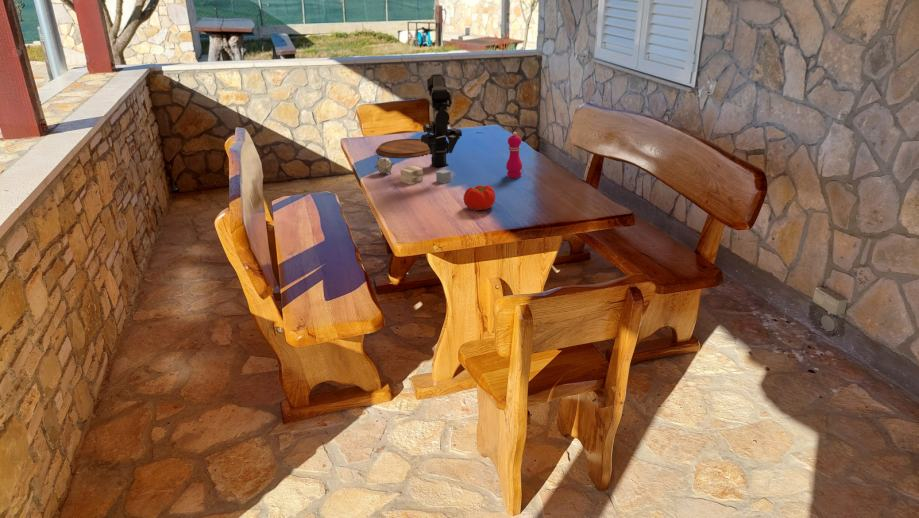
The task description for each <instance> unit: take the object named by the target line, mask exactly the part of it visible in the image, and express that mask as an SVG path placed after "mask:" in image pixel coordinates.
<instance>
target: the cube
mask: <svg viewBox="0 0 919 518" xmlns="http://www.w3.org/2000/svg"><path fill="white" fill-rule="evenodd" d="M451 174H452V173H451V171H450V170H447V169H440V170H438V171H435V176H436V178H435V181H436V182H437V183H441V184H445V183H450V182H451V181H452V177H451ZM449 181H450V182H449Z"/></svg>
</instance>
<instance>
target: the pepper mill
mask: <svg viewBox="0 0 919 518" xmlns="http://www.w3.org/2000/svg"><path fill="white" fill-rule="evenodd" d="M507 145H508V150H509V157H508V158H507V161H506V164H505V168H506V170H507V173H506V175H507V178H509V179H510V178H511V179H518V178H521V177H522V172H521V171H522V169H523V162H522V160H521V157H520V150H521V146H520V145H522V138H521V136H519V135H518V134H517V132H516V131H513V132H512V134H511V135H510V136H508V138H507Z"/></svg>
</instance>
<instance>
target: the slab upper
mask: <svg viewBox="0 0 919 518" xmlns="http://www.w3.org/2000/svg"><path fill="white" fill-rule="evenodd" d="M400 176H404V177H407V178H410V179H412V178H416V177H419V176H424V169H423V168H421V167H418V166H414V165H409V166H407V167H404V168H400Z"/></svg>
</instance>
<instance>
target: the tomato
mask: <svg viewBox="0 0 919 518" xmlns="http://www.w3.org/2000/svg"><path fill="white" fill-rule="evenodd" d="M495 201H496V192H495V190H494V188H493V187H492V186H490V185H487V184H486V185H476V186H474V187H468V188H467V189H466V190H465V192H464V193H463V203H464V205H465V206H466V207H467V208H468V209H470V210H474V211H480V210H483V211H485V210H488V209H490V208H491V207H493V205H494V204H495Z"/></svg>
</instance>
